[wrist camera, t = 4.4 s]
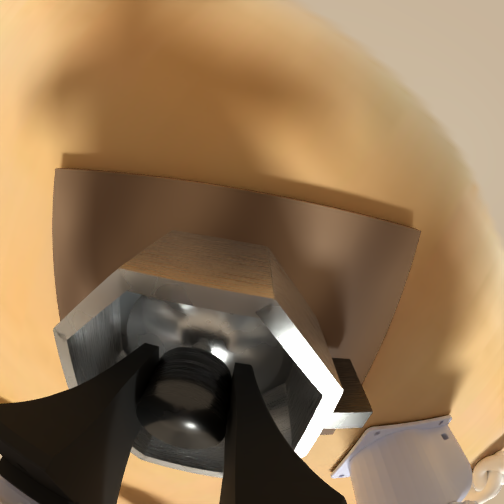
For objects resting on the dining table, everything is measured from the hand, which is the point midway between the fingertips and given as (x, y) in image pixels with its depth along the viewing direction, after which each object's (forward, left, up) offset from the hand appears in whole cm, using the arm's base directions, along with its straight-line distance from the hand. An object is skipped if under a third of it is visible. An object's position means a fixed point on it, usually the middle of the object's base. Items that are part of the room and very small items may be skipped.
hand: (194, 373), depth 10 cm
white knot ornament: (-50, +27, -4) cm, 57 cm away
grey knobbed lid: (0, 0, -2) cm, 2 cm away
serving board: (0, 0, -4) cm, 4 cm away
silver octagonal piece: (-1, 0, -3) cm, 3 cm away
